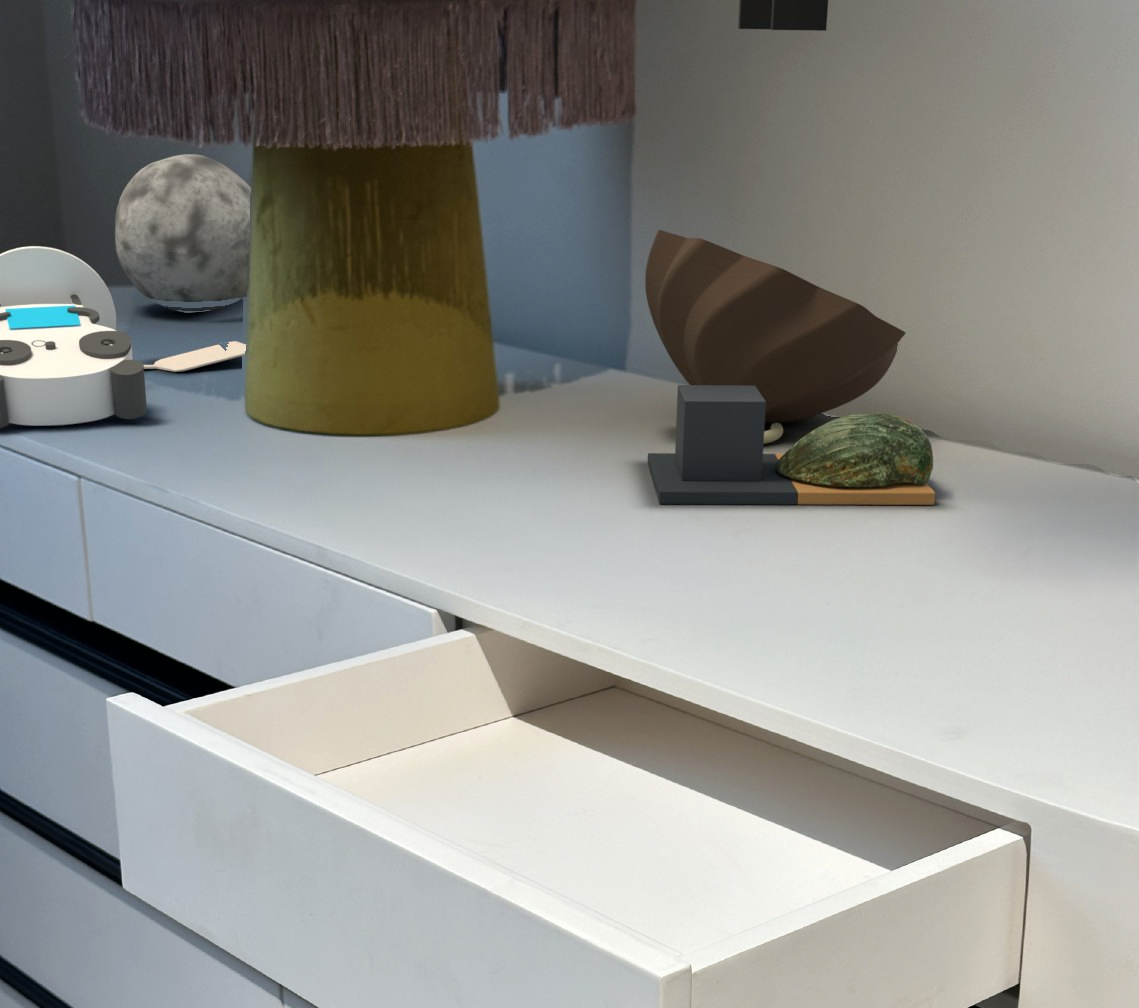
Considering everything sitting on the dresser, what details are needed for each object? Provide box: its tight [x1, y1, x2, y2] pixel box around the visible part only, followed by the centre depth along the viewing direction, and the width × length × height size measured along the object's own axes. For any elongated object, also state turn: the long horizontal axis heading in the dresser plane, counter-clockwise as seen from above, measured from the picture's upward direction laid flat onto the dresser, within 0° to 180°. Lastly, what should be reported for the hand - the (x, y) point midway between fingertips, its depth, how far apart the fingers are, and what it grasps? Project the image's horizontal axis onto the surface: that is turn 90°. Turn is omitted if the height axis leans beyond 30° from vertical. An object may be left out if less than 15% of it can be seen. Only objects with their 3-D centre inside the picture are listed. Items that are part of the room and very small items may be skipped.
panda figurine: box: [0, 245, 148, 429], centre depth 124 cm, size 12×11×15 cm
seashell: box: [775, 412, 934, 487], centre depth 107 cm, size 10×4×10 cm
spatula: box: [143, 340, 247, 373], centre depth 137 cm, size 6×29×2 cm, turn 121°
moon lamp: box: [114, 153, 252, 311], centre depth 165 cm, size 15×16×15 cm
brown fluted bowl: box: [644, 229, 907, 424], centre depth 122 cm, size 19×20×10 cm
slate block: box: [674, 384, 766, 481], centre depth 106 cm, size 5×5×5 cm
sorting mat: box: [647, 452, 936, 506], centre depth 108 cm, size 17×10×1 cm, turn 92°
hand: (779, 30), depth 91 cm, fingers open, 13 cm apart
